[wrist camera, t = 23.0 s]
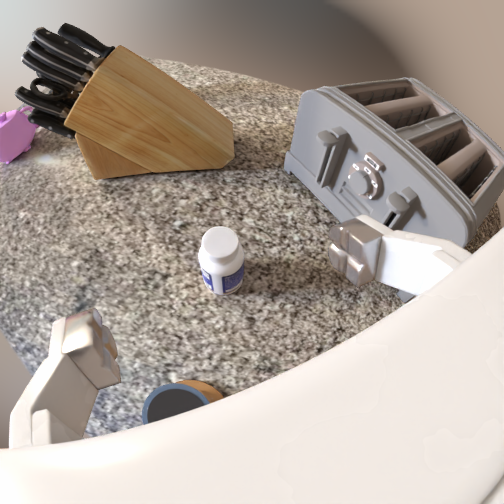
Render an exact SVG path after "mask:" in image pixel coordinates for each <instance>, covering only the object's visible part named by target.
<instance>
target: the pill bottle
mask: <svg viewBox="0 0 504 504" xmlns="http://www.w3.org/2000/svg"><path fill="white" fill-rule="evenodd" d="M199 263H200V267H201V271H202V276H203V280H204V283H205V285H206V287H207V288H208V289H209V290H210V291H212V292H213V293H215V294H218V295H228V294H231V293H233V292H235V291H236V290H237V289H238V288H239V287H240V286H241V284H242V282H243V275H244V250H243V247H242V245H241V244H240V243H239V239H238V236H237V234H236V233H235V232H234V231H233V230H232V229H230V228H228V227H224V226H218V227H214V228H211V229H209V230H208V231H207V232H206V233H205V234H204V236H203V238H202V246H201V248H200V251H199Z"/></svg>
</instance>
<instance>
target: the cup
mask: <svg viewBox="0 0 504 504" xmlns="http://www.w3.org/2000/svg"><path fill="white" fill-rule="evenodd" d="M213 402H215V401H214V400H213V399H212V398H211V397H210V396H209V395H208V394H206V393H204V392H202V391H200V390H198V389H195V388H193V387H191V386H188V385H185V384H179V383H171V384H166V385H163V386H160V387H158V388H157V389H155V390H154V391H153V392H151V394H150V395H149V396H148V397H147V399H146V401H145V403H144V406H143V410H142V420H143V425H145V424H149V423H152V422H156V421H159V420H163V419H166V418H169V417H172V416H175V415H178V414H181V413H184V412H187V411H190V410H193V409H196V408H199V407H202V406H205V405H207V404H210V403H213Z"/></svg>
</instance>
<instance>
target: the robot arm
mask: <svg viewBox="0 0 504 504" xmlns="http://www.w3.org/2000/svg"><path fill="white" fill-rule="evenodd" d="M329 238H330V239H331V241H332V242H331V244H330V246H329V247H328V256H329V259H330V262H331V264H332V265H333V267H334V268H335V269H336V270H337V271H339V272H343V273H345V275H346V278H347V279H348V280H349V281H350V282H351V283H353V284H354V285H355V286H356V287H357V288H358V287H360V286H362V285H365V284H367V283H369V282H371V281H373V280H375V281H378V282H381V283H383V284H386V285H389V286H391V287H394V288H397V289H400V290H402V291H405V292H408V293H411V294H413V295H416V297H415V298H413V299H412V300H411V301H409V302H408V303H406V304H405V305H403V306H402V307H400V308H399V309H397V310H396V311H394V312H392V313H391V314H389V315H388V316H386V317H385V318H383V319H381V320H380V321H378V322H377V323H375V324H373V325H372V326H370V327H368V328H367V329H365V330H363V331H362V332H360V333H358V334H357V335H355V336H353V337H351V338H350V339H348V340H346V341H344V342H343V343H341V344H339V345H337V346H335V347H333V348H332V349H330V350H328V351H326V352H324V353H322V354H320V355H318V356H316V357H315V358H313V359H311V360H309V361H307V362H305V363H303V364H301V365H299V366H297V367H295V368H292V369H290V370H288V371H286V372H284V373H282V374H280V375H278V376H275V377H273V378H271V379H269V380H267V381H264V382H262V383H260V384H257V385H255V386H253V387H250V388H248V389H246V390H243V391H241V392H238V393H236V394H233V395H231V396H228V397H226V398H223V399H221V400H218V401H215V402H213V403H210V404H207V405H205V406H202V407H199V408H196V409H193V410H190V411H187V412H184V413H181V414H178V415H175V416H172V417H169V418H166V419H163V420H159V421H156V422H152V423H149V424H145V425H142V426H138V427H134V428H131V429H127V430H123V431H119V432H114V433H110V434H106V435H101V436H96V437H92V438H86V439H84V438H83V435H84V432H85V429H86V426H87V423H88V420H89V417H90V414H91V411H92V408H93V406H94V403H95V400H96V397H97V395H98V392H99V391H98V390H100V389H103V388H106V387H109V386H112V385H116V384H119V383H121V377H120V369H119V365H118V364H117V362H116V361H115V359H116V357H117V356H118V354H117V347H116V344H115V341H114V338H113V336H112V334H111V332H110V330H109V328H108V327H106V326H104V325H102V317H101V315H100V314H99V312H98V310H97V309H95V308H92V309H89V310H85V311H82V312H79V313H76V314H73V315H70V316H68V317H64V318H61V319H58V320H55V321H54V322H53V325H52V332H51V339H50V347H49V355H48V359H44V361H43V362H42V364H41V365H40V367H39V368H38V370H37V372H36V373H35V375H34V376H33V378H32V380H31V381H30V383H29V384H28V386H27V387H26V389H25V391H24V392H23V394H22V396H21V397H20V399H19V400H18V402H17V404H16V406H15V407H14V409H13V411H12V413H11V415H10V433H9V449H0V504H504V227H503V228H502V229H501V230H500V231H499V232H497V233H496V234H495V235H494V236H493V237H492V238H491V239H490V240H489V241H487V242H486V243H485V244H484V245H483V246H482V247H480V248H479V249H478V250H477V251H476V252H475V253H473V254H471V253H470V252H468V251H467V250H465V249H464V248H462V247H461V246H459V245H457V244H456V243H454V242H453V241H451V240H446V239H442V238H437V237H432V236H427V235H422V234H416V233H411V232H406V231H400V230H395V231H394V230H392V229H390V228H388V227H387V226H385V225H383V224H382V223H380V222H378V221H376V220H375V219H373V218H371V217H369V216H368V215H364V214H362V215H359V216H357V217H354V218H352V219H350V220H347V221H344V222H341V223H339V224H336V225H333V226H331V227H330V229H329Z"/></svg>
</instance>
